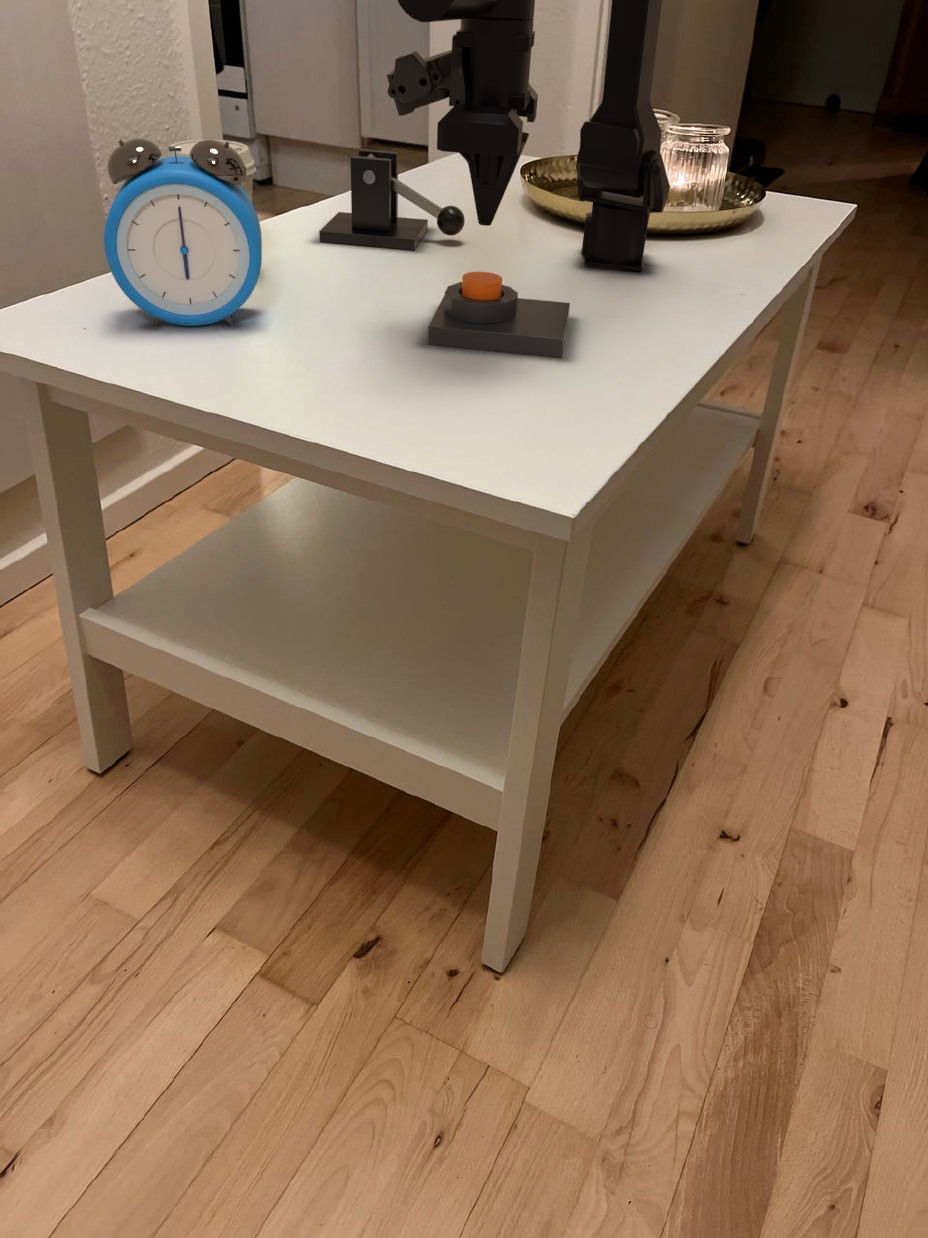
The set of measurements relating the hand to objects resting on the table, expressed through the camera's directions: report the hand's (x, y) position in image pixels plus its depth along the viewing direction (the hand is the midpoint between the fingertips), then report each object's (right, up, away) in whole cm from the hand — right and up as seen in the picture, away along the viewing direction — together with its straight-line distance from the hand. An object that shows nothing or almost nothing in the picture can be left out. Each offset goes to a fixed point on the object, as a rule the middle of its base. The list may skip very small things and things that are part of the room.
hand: (485, 224), depth 86 cm
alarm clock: (-27, -7, +5) cm, 28 cm away
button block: (+2, -8, +5) cm, 10 cm away
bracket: (-12, +10, +29) cm, 34 cm away
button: (0, -5, +4) cm, 6 cm away
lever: (-8, +13, +27) cm, 31 cm away
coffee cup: (-27, +1, +15) cm, 31 cm away
